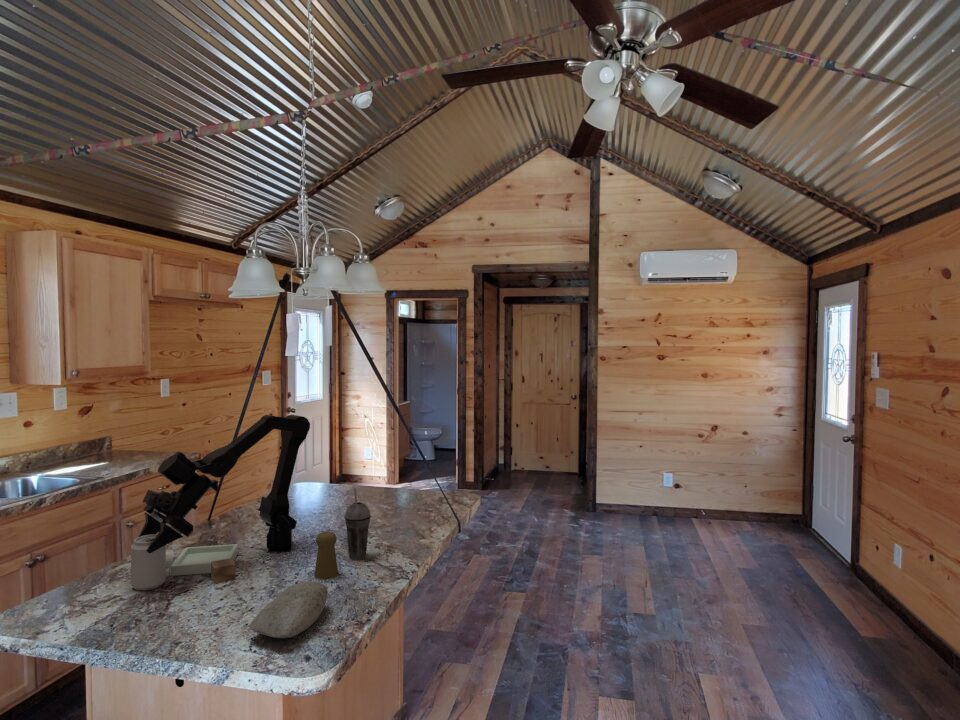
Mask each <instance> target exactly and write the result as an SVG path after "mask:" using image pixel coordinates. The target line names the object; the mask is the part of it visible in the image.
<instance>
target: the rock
mask: <svg viewBox="0 0 960 720" xmlns="http://www.w3.org/2000/svg"><path fill="white" fill-rule="evenodd" d="M328 593H329V591H328V588H327V586H326V585H325V584H324V583H322V582H319V581H311V580H310V581H304V582H299V583H295V584H294V585H290V586H289V587H288V588H285V590H283V591H282V592H281V593H279V595H277V596H276V598H274V599H273V600H272V601H271V602H270V603H269V604H267V605H266V606H265V607H264V608H263V609H261V610H260V611H259V612H258V613H257V614H256V616H255V617H254V618H253V619H252V620H251V622H250V624H249V626H248V628H249V630H251V631H253V632H255V633H258V634H261V635H264V636H267V637H270V638H274V639H275V638H276V639H291V638H293V637H296V636H297V635H299V634H301V633H302V632H304V631H306V630H307V629H309V628H310V627H311V626H312V625H313V624H314V623H315V622H316V621H317V620H318V618H319V617H320V615H321V614H322V612H323V610H324V608H325V605H326V601H327V600H328V599H327V598H328V595H329V594H328Z"/></svg>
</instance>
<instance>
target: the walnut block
mask: <svg viewBox="0 0 960 720" xmlns="http://www.w3.org/2000/svg"><path fill="white" fill-rule="evenodd" d="M210 577H211V580H212V582H213V584H217V583H224V582H227V581H234V580H236V563H235V560H234V561H233V559H232V558H229V559H224V560H219V561H213V562H211V573H210Z"/></svg>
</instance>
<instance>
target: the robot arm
mask: <svg viewBox="0 0 960 720" xmlns="http://www.w3.org/2000/svg"><path fill="white" fill-rule="evenodd" d="M310 429H311V422H310V421H309V419H308V418H307V417H305V416H302V415H297V414H288V415H286V416H284V417H283V416H277V415H272V414H264V415H263V416H262V417H261V418H260V419H259V420H258V421H256V422H255V423H253V425H251V426H250V427H249V428H247V429H246V430H244V431H243V432H242V433H241V434H240V435H238V436H237V437H236V438H235V439H233V440H232V441H231V442H229V443H228V444H227V445H224V446H222V447H219V448H217V449H215V450H212V451H211V452H209V453H207V454H205V455H204V456H203V458H201V459H198V460H194V461H191V460H190V459H189V458H187V456H186V455H185V454H184V453H183V452H181V451H176V452H175V454H173V455H171V456H169V457H168V458H167V459H164V460H163V462H162V463H161V464H160V465H159V467H158V468H157V472H158V473H159V475H162V476H163V477H164V478H165V479H167V480H168V481H170V483H172V484H174V485H175V486H180V485H182V486H181V487H180V488H179V489H178V490H177V491H176V490H173V491H171V492H168V491H167V492H166V491H164V490H162V491H160V492H159V491H156V490H152V489H148V490H147V491H146V493H145V495H144V497H143V500H142V503H145V504H146V505H145V506H144V508H143V509H142V510H143V511H145V512H144V517H145V522H144V525H143V527H142V529H141V531H140V533H139V534H138V537H141V536H145V535H151V534H158V535H157V536H156V537H155V539H154V540H153V542H152V543H151V544H150V546H149V547H148V549H147V552H148V553H152V552H154V551H156V550H158V549H159V548H161V547H163V546H165V545H166V546H167V545H168V544H171V543H172V542H175V541H176V540H179V539H182V538H184V536H185V537H187V538H189V537H190V536H191V535H192V533H193V532H194V525H193V524H192V523H191V522H189V521H188V520H187V519H186V518H185V517H186V516H188V514H189V513H191V511H192V510H197V508H199V506H198V505H197V504H198V503H199V501H201V499H203V497H204V496H205V495H206V494H207V493H208V491H209V490H211V491H215V492H218V491H219V485H218V484H219V481H218V480H217V479H211V478H209V476H211V477H214V478H223V477H225V476H227V475H228V473H230V472H231V470H233V468H234V467H236V464H237V463H238V460H239V459H240V458H241V456H243V454H245V453H246V452H248V451H249V450H250V449H251V448H252V447H254V446H255V445H256V444H257V443H259V442H260V441H261V440H262V439H263V438H265V437H266V436H267V435H268V434H270V433H271V432H272V431H273V430H277V431H278V430H279V431H280V436H281V442H282V446H281V448H280V453H279V458H278V462H277V466H276V470H275V474H274V478H273V482H272V486H271V490H270V492H269V493H268V495H267V496H266V497H265V496H261V498H260V505H259V508H258V510H257V511H258V512H259V518H260V519H261V520H262V521H263V522H264V523H265V526H266V527H269V528H268V531H267V533H266V549H267V553H278V552H291V551H292V549H293V546H294V542H293V530H295V529H296V527H297V523H298V522H297V520H296V519H294V517H293V516H291V515H290V500H289V497H288V496H289V491H290V486H291V482H292V478H293V475H294V474H293V473H294V470H295V466H296V462H297V458H298V453H299V449H300V448H301V445H302V444H303V442H305V440H306V438H307V436H308V434H309V432H310ZM197 472H199V473H202V474H200V475H199V474H198V473H197ZM207 475H208V476H207ZM183 535H184V536H183Z"/></svg>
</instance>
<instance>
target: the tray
mask: <svg viewBox="0 0 960 720" xmlns="http://www.w3.org/2000/svg"><path fill="white" fill-rule="evenodd" d="M238 553H239V544H238V543H234V544H231V543H230V544H218V545H217V544H216V545H202V546H190V547H189V546H188V547H185V548H184V549H183V550H182V551H181V552H180V553H179V555H178V556H177V557H176V559H174V562H173V564H172V565H171V566H170V567H169V568H170V569H169V571H170V572H169V574H170V577H176V576H187V575H190V576H191V575H200V574H211V562H213V561H219V560H224V559H229V558H232V559H233V561H234V562H235V560H236V558H237V555H238Z"/></svg>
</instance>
